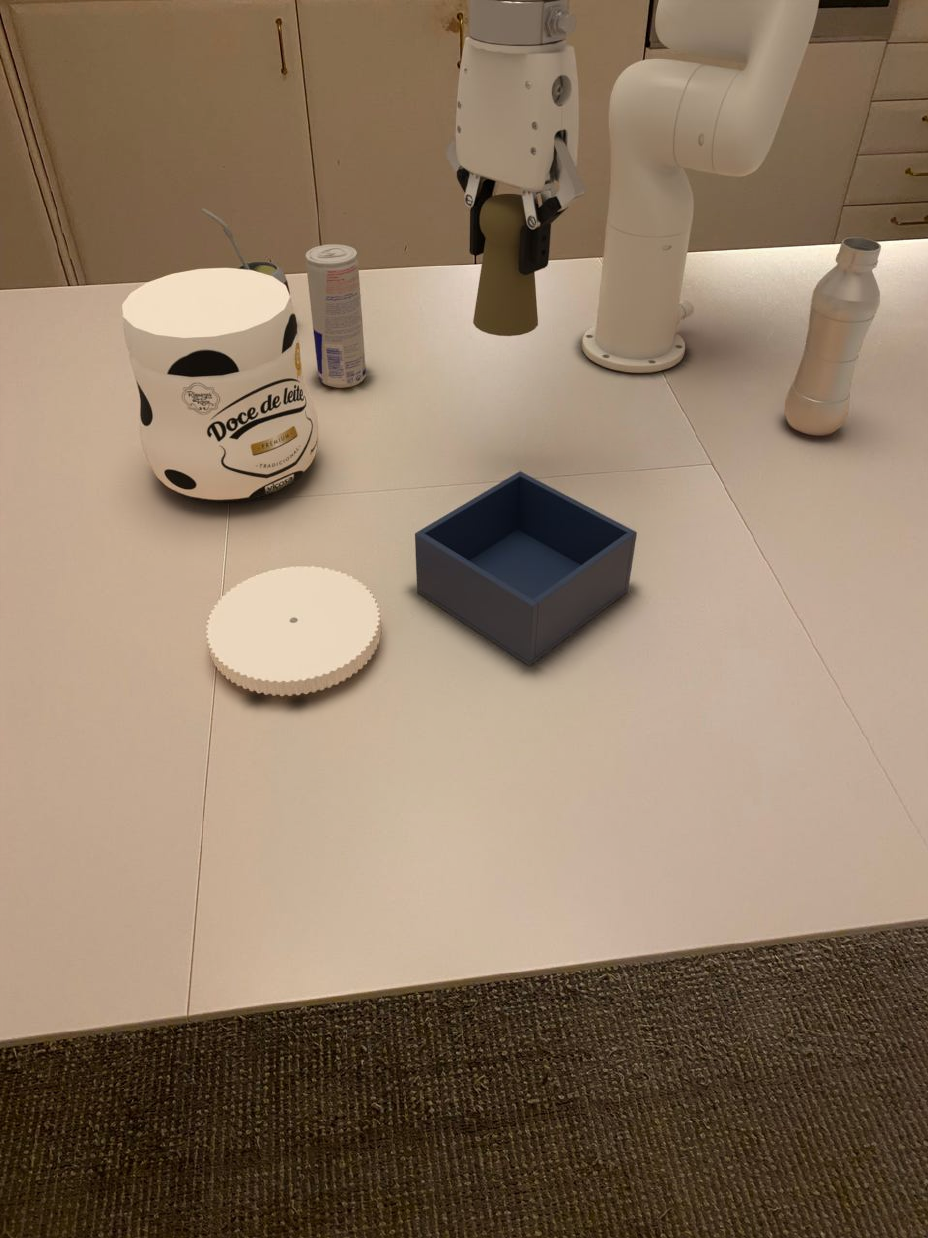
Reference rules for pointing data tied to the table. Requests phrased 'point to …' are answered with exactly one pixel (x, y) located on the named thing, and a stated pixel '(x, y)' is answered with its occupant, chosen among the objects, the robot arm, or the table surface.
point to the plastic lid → (293, 630)
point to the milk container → (220, 383)
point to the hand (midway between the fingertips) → (508, 258)
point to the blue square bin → (524, 565)
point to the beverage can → (336, 314)
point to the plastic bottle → (834, 339)
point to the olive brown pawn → (504, 271)
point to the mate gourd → (257, 266)
